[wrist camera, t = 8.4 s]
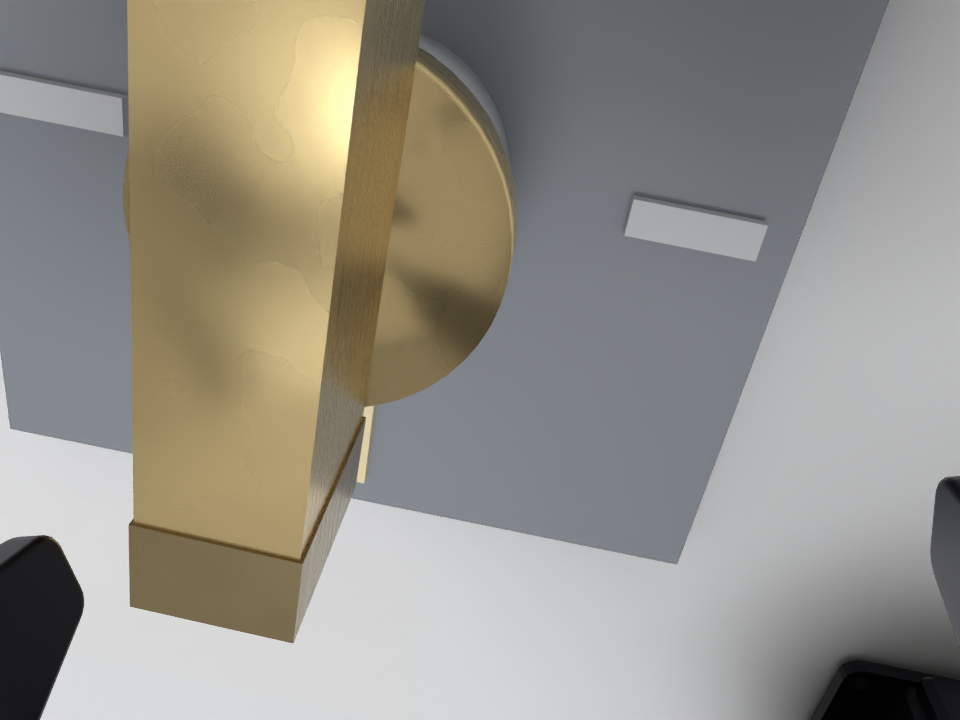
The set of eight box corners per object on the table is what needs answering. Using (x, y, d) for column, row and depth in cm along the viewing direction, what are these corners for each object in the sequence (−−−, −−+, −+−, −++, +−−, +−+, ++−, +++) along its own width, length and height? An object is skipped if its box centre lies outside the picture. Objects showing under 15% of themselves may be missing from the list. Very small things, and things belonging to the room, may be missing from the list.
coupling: (576, -22, 13) (573, 13, 8) (464, 467, 17) (420, 671, 12) (162, -115, 13) (-81, -133, 8) (160, 398, 17) (2, 577, 12)
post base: (673, 539, 23) (690, 653, 19) (32, 409, 23) (-68, 498, 19) (968, -270, 14) (1099, -332, 10) (-67, -463, 14) (-278, -586, 11)
